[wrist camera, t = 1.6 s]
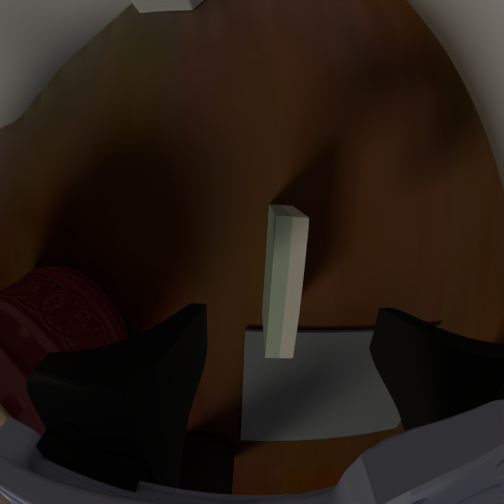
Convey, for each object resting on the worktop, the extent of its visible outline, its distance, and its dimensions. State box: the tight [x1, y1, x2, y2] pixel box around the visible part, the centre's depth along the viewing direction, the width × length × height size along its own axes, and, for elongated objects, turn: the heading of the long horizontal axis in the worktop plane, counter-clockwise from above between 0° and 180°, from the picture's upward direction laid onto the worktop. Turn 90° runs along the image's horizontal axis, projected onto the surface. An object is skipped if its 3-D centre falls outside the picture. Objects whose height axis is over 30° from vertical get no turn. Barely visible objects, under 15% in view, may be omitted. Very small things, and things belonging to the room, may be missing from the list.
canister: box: [0, 265, 129, 436], centre depth 13 cm, size 13×13×18 cm
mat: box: [241, 324, 441, 441], centre depth 23 cm, size 18×14×1 cm
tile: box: [262, 204, 309, 358], centre depth 17 cm, size 2×8×6 cm, turn 178°
